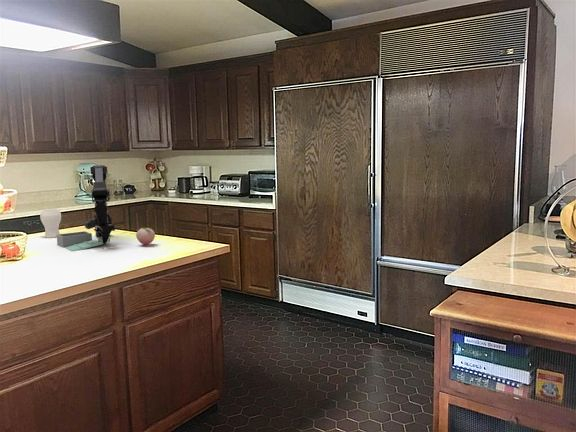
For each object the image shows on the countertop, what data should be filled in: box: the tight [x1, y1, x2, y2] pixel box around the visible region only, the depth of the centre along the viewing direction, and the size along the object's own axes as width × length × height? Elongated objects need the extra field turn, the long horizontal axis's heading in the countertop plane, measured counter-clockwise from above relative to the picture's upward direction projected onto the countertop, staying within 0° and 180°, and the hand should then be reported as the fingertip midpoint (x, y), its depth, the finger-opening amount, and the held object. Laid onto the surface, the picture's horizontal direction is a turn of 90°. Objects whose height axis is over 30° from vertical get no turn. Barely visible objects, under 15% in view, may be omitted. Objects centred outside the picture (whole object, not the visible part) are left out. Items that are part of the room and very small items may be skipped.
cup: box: [39, 208, 62, 239], centre depth 269 cm, size 11×11×15 cm
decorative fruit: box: [135, 227, 156, 246], centre depth 241 cm, size 9×8×10 cm
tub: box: [56, 230, 93, 249], centre depth 243 cm, size 14×10×6 cm
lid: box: [64, 236, 111, 252], centre depth 236 cm, size 20×11×3 cm, turn 131°
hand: (103, 243), depth 240 cm, fingers closed on lid, 3 cm apart
